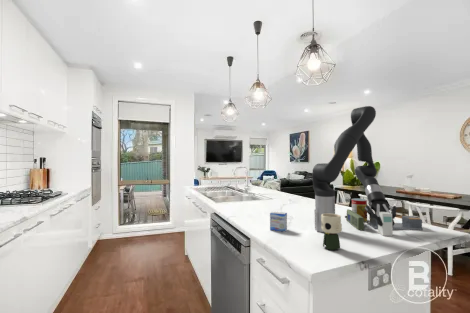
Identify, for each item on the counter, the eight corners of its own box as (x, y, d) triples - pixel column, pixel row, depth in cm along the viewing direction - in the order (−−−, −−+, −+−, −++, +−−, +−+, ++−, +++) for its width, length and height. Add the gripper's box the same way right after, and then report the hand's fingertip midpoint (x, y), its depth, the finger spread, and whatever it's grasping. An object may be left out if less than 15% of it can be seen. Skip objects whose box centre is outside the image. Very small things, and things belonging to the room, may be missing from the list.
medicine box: (269, 230, 117) (269, 213, 117) (271, 228, 121) (271, 211, 121) (285, 232, 114) (285, 214, 114) (287, 229, 118) (286, 212, 118)
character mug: (315, 244, 96) (314, 213, 96) (329, 242, 98) (328, 211, 98) (333, 254, 85) (333, 219, 86) (349, 252, 87) (348, 217, 88)
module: (383, 235, 106) (382, 213, 106) (378, 232, 111) (377, 211, 112) (392, 236, 106) (392, 214, 106) (387, 232, 111) (386, 211, 111)
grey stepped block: (374, 228, 118) (374, 218, 118) (367, 223, 127) (367, 214, 127) (422, 230, 114) (422, 219, 115) (412, 225, 123) (411, 215, 124)
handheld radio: (357, 230, 116) (342, 218, 140) (364, 231, 115) (348, 219, 140) (357, 217, 116) (342, 207, 140) (364, 217, 115) (348, 207, 140)
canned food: (370, 221, 133) (370, 200, 133) (358, 222, 131) (358, 200, 131) (360, 218, 140) (359, 198, 141) (349, 219, 138) (348, 198, 139)
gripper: (361, 190, 118) (372, 220, 105) (392, 190, 115) (407, 221, 103) (358, 199, 123) (368, 229, 110) (387, 199, 120) (401, 230, 108)
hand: (387, 225), depth 107 cm, fingers closed on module, 4 cm apart
